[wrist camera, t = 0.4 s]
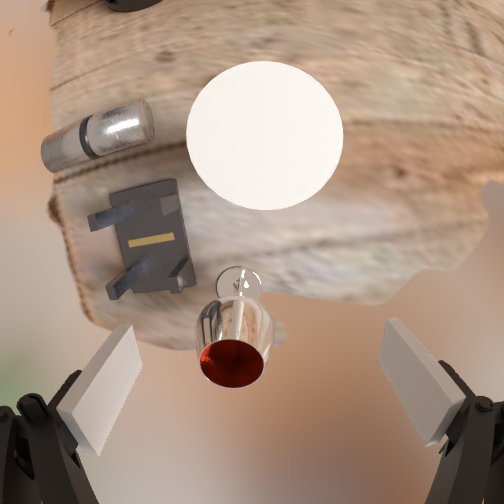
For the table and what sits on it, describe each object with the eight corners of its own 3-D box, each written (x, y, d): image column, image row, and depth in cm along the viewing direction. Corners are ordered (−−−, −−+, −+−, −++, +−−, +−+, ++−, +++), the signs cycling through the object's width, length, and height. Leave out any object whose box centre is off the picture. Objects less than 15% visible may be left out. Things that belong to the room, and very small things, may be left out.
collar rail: (112, 194, 37) (83, 199, 29) (176, 179, 36) (157, 180, 29) (135, 290, 41) (114, 314, 33) (196, 283, 40) (184, 307, 33)
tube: (66, 172, 36) (42, 174, 30) (62, 136, 34) (39, 133, 28) (156, 144, 35) (139, 139, 29) (151, 103, 34) (134, 92, 28)
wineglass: (211, 258, 39) (182, 321, 22) (270, 261, 39) (283, 327, 22) (211, 311, 42) (188, 393, 24) (266, 314, 42) (274, 399, 24)
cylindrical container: (224, 140, 35) (175, 78, 11) (278, 130, 35) (325, 55, 11) (234, 192, 37) (202, 223, 13) (287, 182, 37) (353, 197, 13)
